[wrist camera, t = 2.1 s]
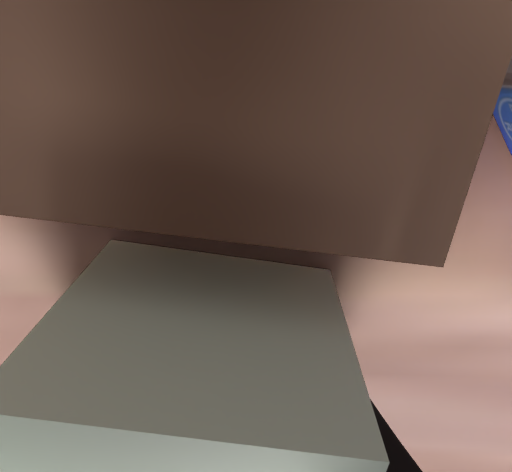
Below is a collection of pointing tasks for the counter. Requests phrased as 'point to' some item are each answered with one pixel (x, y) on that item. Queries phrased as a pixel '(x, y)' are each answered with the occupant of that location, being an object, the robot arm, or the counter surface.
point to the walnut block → (252, 118)
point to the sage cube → (189, 371)
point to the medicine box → (505, 108)
